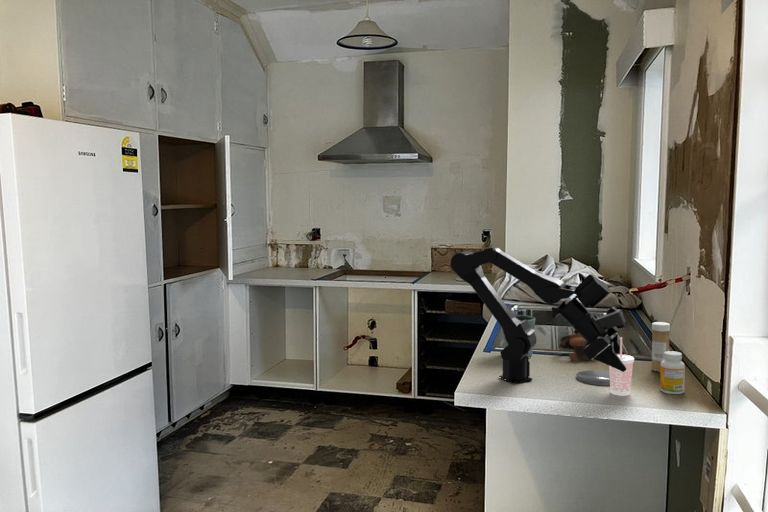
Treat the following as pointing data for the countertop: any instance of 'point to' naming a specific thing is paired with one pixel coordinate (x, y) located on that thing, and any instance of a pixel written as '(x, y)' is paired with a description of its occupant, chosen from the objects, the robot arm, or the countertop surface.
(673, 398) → the countertop surface
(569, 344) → the pottery mug
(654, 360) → the sprinkles bottle
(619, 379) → the beverage cup
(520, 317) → the drinking glass
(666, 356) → the supplement bottle
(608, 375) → the coaster
